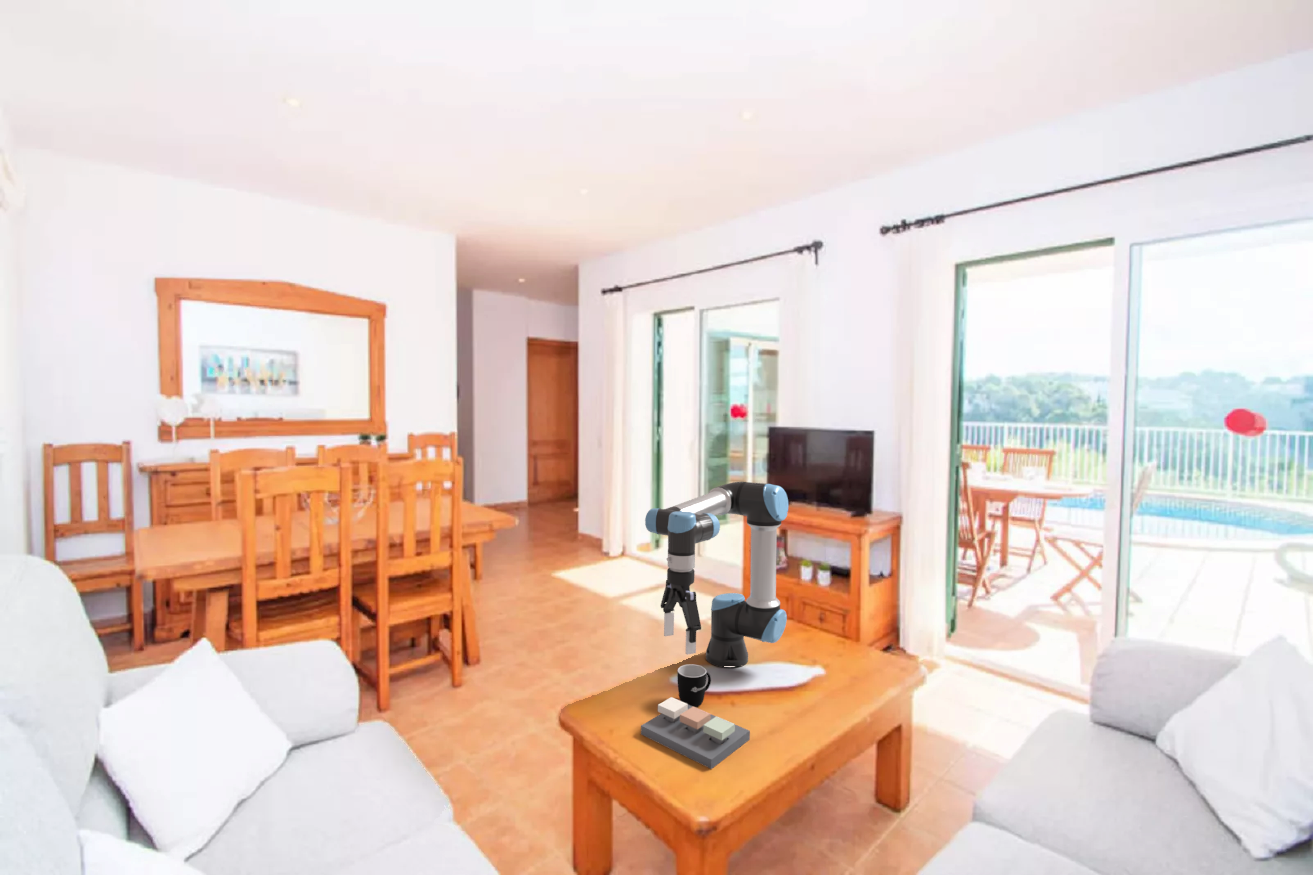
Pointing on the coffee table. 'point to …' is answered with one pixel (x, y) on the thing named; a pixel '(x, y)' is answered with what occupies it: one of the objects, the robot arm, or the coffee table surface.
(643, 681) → the coffee table surface
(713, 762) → the keypad base
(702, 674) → the mug
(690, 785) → the coffee table surface
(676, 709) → the key ivory
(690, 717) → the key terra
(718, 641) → the robot arm
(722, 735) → the key sage
